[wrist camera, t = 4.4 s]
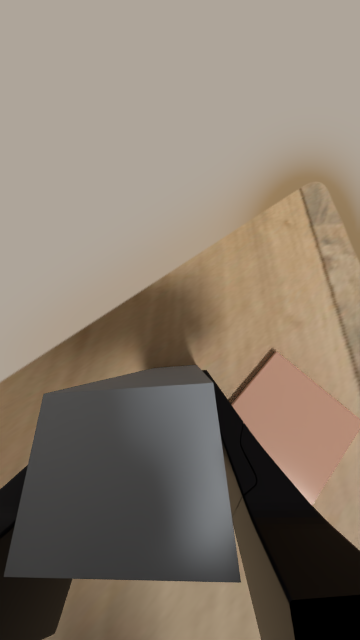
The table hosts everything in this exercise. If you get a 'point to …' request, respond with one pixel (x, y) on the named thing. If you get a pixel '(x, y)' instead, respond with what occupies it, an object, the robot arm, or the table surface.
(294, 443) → the terracotta pad
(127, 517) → the grey rectangular pillar
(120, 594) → the table surface
